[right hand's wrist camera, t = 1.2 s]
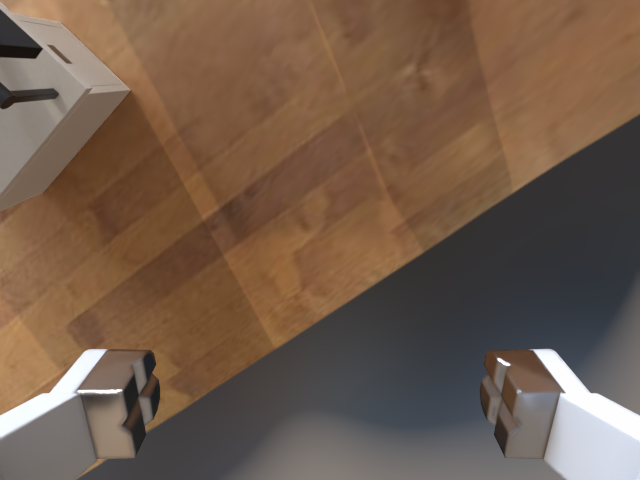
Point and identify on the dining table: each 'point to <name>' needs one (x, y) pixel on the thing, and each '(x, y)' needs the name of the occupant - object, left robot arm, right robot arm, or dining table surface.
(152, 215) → the dining table surface
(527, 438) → the right robot arm
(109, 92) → the chest
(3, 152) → the lid
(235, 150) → the dining table surface
